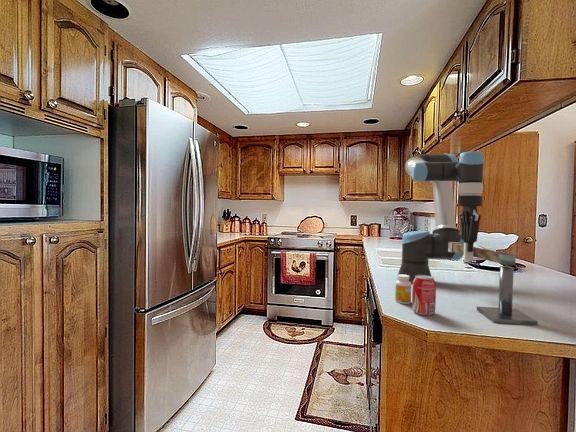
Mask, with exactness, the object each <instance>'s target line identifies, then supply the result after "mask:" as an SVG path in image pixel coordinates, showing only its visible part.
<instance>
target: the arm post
mask: <svg viewBox="0 0 576 432" xmlns="http://www.w3.org/2000/svg"><path fill="white" fill-rule="evenodd" d="M514 268H515V267H513V266H510V265H500V266H499V283H498V284H499V285H498V289H499V290H498V307H494V306H493V307H492V306H476V311H477V312H479V313H480V314H481V315H482V316H484V317H485V318H487V319H488V320H489V321H491V322H492V323H494V324H495V323H496V324H510V325H523V324H525V326H538V325H539V323H538V322H539V321H538V320H537V319H535V318H533V317H531V316H529V315H528V314H525V312H522V311H520V309H517V308H515V307H513V300H514V299H513V298H514V297H513V296H514Z"/></svg>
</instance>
